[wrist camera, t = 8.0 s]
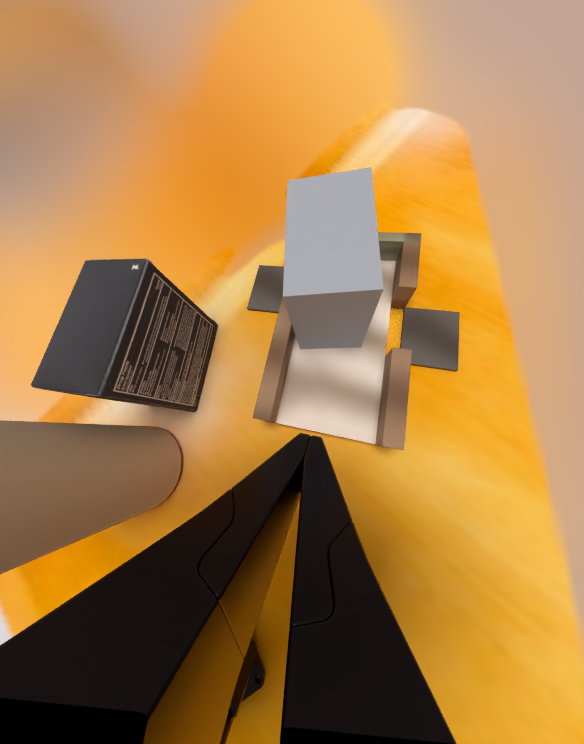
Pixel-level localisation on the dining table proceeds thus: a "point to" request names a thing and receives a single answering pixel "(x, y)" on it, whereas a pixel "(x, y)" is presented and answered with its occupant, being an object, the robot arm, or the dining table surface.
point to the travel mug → (77, 482)
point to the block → (332, 259)
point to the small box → (129, 339)
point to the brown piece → (354, 357)
